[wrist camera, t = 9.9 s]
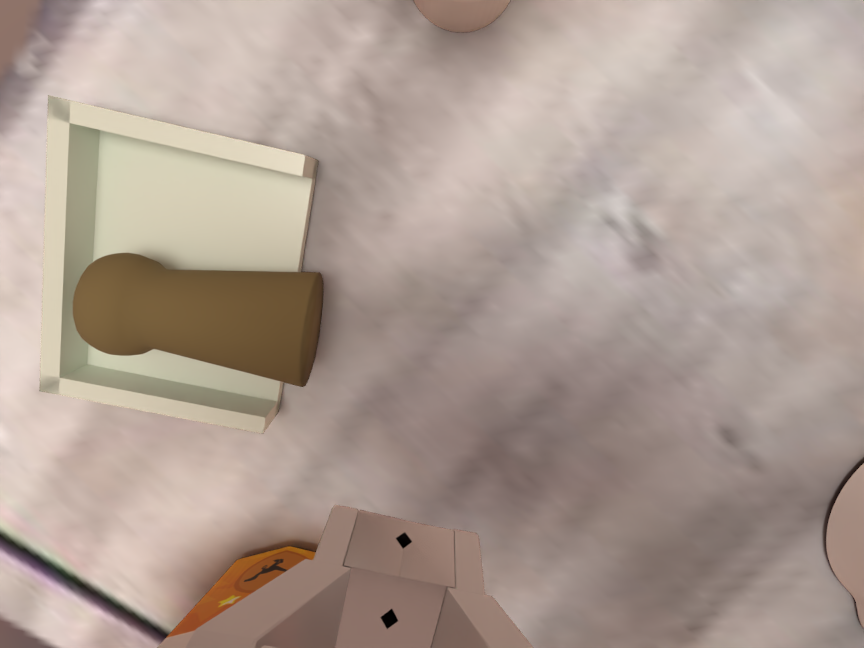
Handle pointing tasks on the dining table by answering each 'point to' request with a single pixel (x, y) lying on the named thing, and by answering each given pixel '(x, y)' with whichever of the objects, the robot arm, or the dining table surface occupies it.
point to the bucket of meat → (235, 589)
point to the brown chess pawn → (202, 315)
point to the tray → (162, 248)
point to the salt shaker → (461, 13)
